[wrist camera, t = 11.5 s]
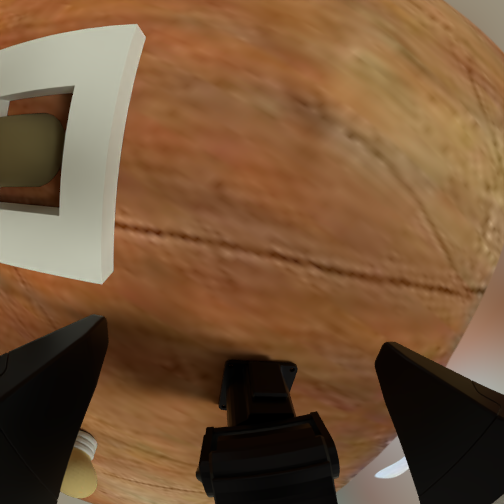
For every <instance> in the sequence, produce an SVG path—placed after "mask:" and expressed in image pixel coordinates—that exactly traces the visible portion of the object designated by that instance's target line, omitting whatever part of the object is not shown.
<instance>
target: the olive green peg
mask: <svg viewBox="0 0 504 504" xmlns="http://www.w3.org/2000/svg"><path fill="white" fill-rule="evenodd" d="M64 143H65V133H64V129H63V127H62V125H61V123H60V121H59V120H58V119H57V118H56V117H55V116H53V115H51V114H47V113H37V114H23V115H13V116H4V117H0V187H40V186H42V185H44V184H46V183H48V182H49V181H50V180H51V179H52V178H53V177H54V176H55V175H56V174H57V172H58V170H59V169H60V167H61V165H62V160H63V151H64Z"/></svg>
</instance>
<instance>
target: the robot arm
mask: <svg viewBox="0 0 504 504" xmlns="http://www.w3.org/2000/svg"><path fill="white" fill-rule="evenodd" d="M108 341H109V340H108V329H107V320H106V318H105V317H104V316H100V315H95V314H93V315H90V316H88V317H86V318H84V319H81V320H79V321H77V322H75V323H72V324H70V325H68V326H66V327H63V328H61V329H59V330H57V331H54V332H52V333H50V334H48V335H45V336H43V337H41V338H39V339H36V340H34V341H32V342H30V343H27V344H25V345H23V346H21V347H19V348H16V349H14V350H12V351H10V352H9V353H5V354H3V355H1V356H0V504H57V499H58V497H59V493H60V489H61V486H62V482H63V479H64V475H65V472H66V469H67V466H68V462H69V459H70V456H71V453H72V450H73V447H74V444H75V441H76V438H77V435H78V433H79V430H80V427H81V424H82V422H83V419H84V416H85V414H86V411H87V408H88V406H89V403H90V401H91V398H92V396H93V393H94V391H95V388H96V385H97V382H98V378H99V375H100V371H101V368H102V364H103V361H104V357H105V354H106V351H107V348H108ZM229 365H233V366H229ZM291 368H293V369H291ZM297 369H298V368H297V366H296V364H294V363H275V362H257V361H243V360H227V361H226V363H225V368H224V374H223V380H222V386H221V393H220V399H219V408H220V409H221V410H227V425H228V427H219V428H214V427H207V428H206V434H205V435H204V437H203V443H202V449H201V455H200V461H199V466H198V468H197V471H196V478H197V479H198V480H199V481H200V482H202V484H203V486H204V489H205V492H206V494H207V496H208V497H214V500H215V504H338V503H337V498H336V491H335V485H334V479H336V478H338V477H339V473H340V467H339V459H338V454H337V450H336V447H335V444H334V441H333V439H332V437H331V436H330V434H329V432H328V430H327V428H326V427H325V425H324V423H323V421H322V420H321V418H320V416H319V414H318V412H317V411H316V412H311V413H310V414H307V415H302V416H298V417H296V414H295V411H294V407H293V404H292V400H291V397H290V393H289V392H290V390H291V387H292V384H293V381H294V379H295V376H296V373H297ZM375 369H376V373H377V376H378V380H379V383H380V386H381V390H382V393H383V397H384V400H385V403H386V406H387V409H388V411H389V414H390V416H391V419H392V421H393V424H394V427H395V429H396V432H397V435H398V438H399V440H400V443H401V445H402V449H403V451H404V454H405V457H406V460H407V463H408V466H409V469H410V472H411V475H412V478H413V481H414V484H415V487H416V490H417V494H418V496H419V501H420V504H504V395H503V394H501V393H498V392H496V391H494V390H491V389H489V388H487V387H485V386H483V385H481V384H478V383H476V382H474V381H471V380H470V379H468V378H466V377H464V376H462V375H460V374H458V373H456V372H454V371H452V370H450V369H448V368H446V367H444V366H442V365H440V364H438V363H436V362H434V361H432V360H430V359H428V358H426V357H424V356H422V355H420V354H418V353H416V352H414V351H412V350H410V349H408V348H406V347H404V346H402V345H400V344H398V343H396V342H385V343H384V344H383V345H382V347H381V349H380V352H379V354H378V356H377V358H376V360H375ZM223 405H225V406H223Z"/></svg>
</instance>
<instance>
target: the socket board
mask: <svg viewBox="0 0 504 504" xmlns="http://www.w3.org/2000/svg"><path fill="white" fill-rule="evenodd" d="M145 39H146V37H145V35H144V34H143V32H142V31H141V29H140V28H139V26H138V25H137V24H131V25H117V26H106V27H97V28H90V29H83V30H77V31H71V32H66V33H61V34H56V35H51V36H47V37H43V38H39V39H35V40H31V41H28V42H24V43H21V44H17V45H14V46H11V47H8V48H5V49H2V50H0V117H4V116H7V113H8V107H9V102H10V101H13V100H18V99H25V98H31V97H39V96H47V95H56V94H67V93H73V96H72V101H71V106H70V111H69V117H68V123H67V129H66V135H65V143H64V151H63V160H62V171H61V184H60V208H57V207H48V206H38V205H28V204H17V203H6V202H0V263H4V264H8V265H12V266H16V267H21V268H25V269H29V270H34V271H38V272H43V273H47V274H52V275H57V276H61V277H66V278H71V279H76V280H81V281H87V282H92V283H97V284H103V282H104V281H105V280H106V279H107V278H108V277H109V276H110V274H111V273H112V272H113V252H114V222H115V205H116V193H117V182H118V172H119V164H120V156H121V148H122V142H123V135H124V129H125V123H126V118H127V112H128V107H129V102H130V97H131V93H132V88H133V84H134V79H135V75H136V71H137V67H138V63H139V60H140V56H141V52H142V49H143V45H144V42H145Z"/></svg>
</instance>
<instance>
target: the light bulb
mask: <svg viewBox="0 0 504 504" xmlns="http://www.w3.org/2000/svg"><path fill="white" fill-rule="evenodd" d="M96 448H97V442H96V440H95V439H94V438H93V437H92V436H91V435H90V434H88V433H86V432H84V431H80V430H79V433H78V435H77V438H76V441H75V444H74V447H73V450H72V453H71V456H70V459H69V462H68V466H67V469H66V472H65V475H64V479H63V482H62V486H61V489H60V491H61V492H63V493H64V494H66V495H68V496H71V497H74V498H85V497H88V496H90V495H91V494H92V493H93V492H94V491H95V489H96V487H97V475H96V472H95V469H94V467H93V465H92V463H91V460H92V459H93V458H94V454H95V451H96Z"/></svg>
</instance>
